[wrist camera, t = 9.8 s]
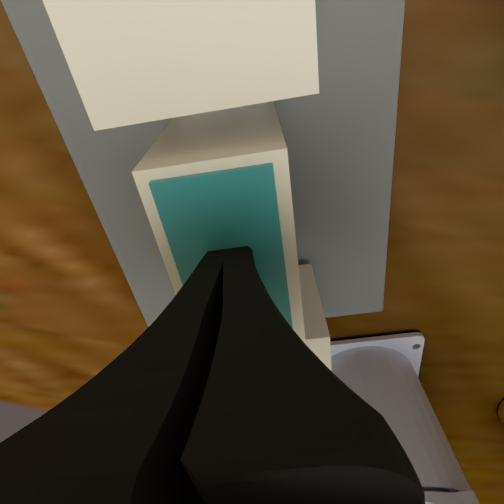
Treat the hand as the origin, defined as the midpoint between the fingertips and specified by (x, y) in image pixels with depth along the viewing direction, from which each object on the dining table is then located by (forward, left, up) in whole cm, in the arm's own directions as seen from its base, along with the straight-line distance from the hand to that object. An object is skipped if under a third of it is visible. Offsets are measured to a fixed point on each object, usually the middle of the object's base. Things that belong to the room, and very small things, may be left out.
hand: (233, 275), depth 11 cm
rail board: (0, 0, -8) cm, 8 cm away
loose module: (0, 0, -6) cm, 6 cm away
